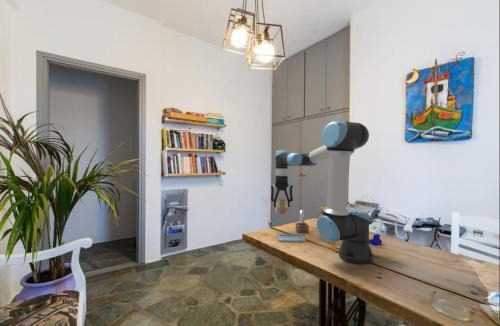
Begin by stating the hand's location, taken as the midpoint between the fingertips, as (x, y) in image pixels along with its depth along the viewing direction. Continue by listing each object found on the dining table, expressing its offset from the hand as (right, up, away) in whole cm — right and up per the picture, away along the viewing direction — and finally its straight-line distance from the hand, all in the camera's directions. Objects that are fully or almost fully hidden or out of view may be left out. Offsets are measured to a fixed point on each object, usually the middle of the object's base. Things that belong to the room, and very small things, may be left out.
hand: (281, 212), depth 149 cm
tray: (+4, -14, -7) cm, 17 cm away
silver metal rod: (+14, -14, +8) cm, 22 cm away
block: (0, 0, 0) cm, 0 cm away
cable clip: (+49, -15, -12) cm, 53 cm away
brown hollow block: (+14, -14, +8) cm, 22 cm away
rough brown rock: (+33, -15, +12) cm, 38 cm away
